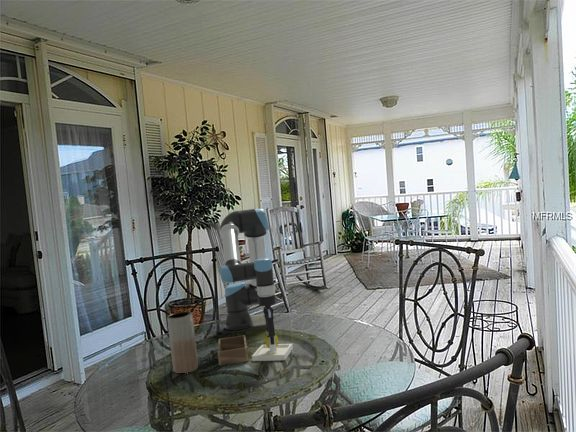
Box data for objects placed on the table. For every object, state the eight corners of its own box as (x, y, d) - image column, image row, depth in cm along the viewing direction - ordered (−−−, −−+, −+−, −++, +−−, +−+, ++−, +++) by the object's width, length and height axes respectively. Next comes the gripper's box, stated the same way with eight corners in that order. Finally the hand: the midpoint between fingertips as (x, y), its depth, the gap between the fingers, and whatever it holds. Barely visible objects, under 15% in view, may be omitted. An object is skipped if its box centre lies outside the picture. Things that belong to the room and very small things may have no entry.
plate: (262, 349, 194) (261, 344, 194) (293, 348, 191) (292, 343, 191) (252, 361, 181) (251, 355, 181) (284, 360, 177) (284, 354, 177)
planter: (171, 368, 182) (165, 314, 182) (195, 363, 186) (189, 310, 186) (175, 376, 173) (168, 319, 173) (200, 370, 177) (194, 314, 177)
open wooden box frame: (220, 351, 199) (218, 339, 199) (246, 346, 201) (245, 335, 201) (219, 365, 180) (217, 352, 180) (248, 360, 181) (246, 347, 181)
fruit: (264, 352, 184) (261, 333, 184) (269, 347, 189) (267, 329, 189) (276, 352, 182) (273, 333, 182) (281, 347, 187) (279, 329, 187)
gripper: (256, 292, 194) (262, 344, 195) (259, 300, 176) (265, 357, 176) (273, 290, 195) (278, 341, 196) (277, 297, 177) (284, 354, 177)
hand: (272, 349), depth 186 cm, fingers closed on fruit, 6 cm apart
